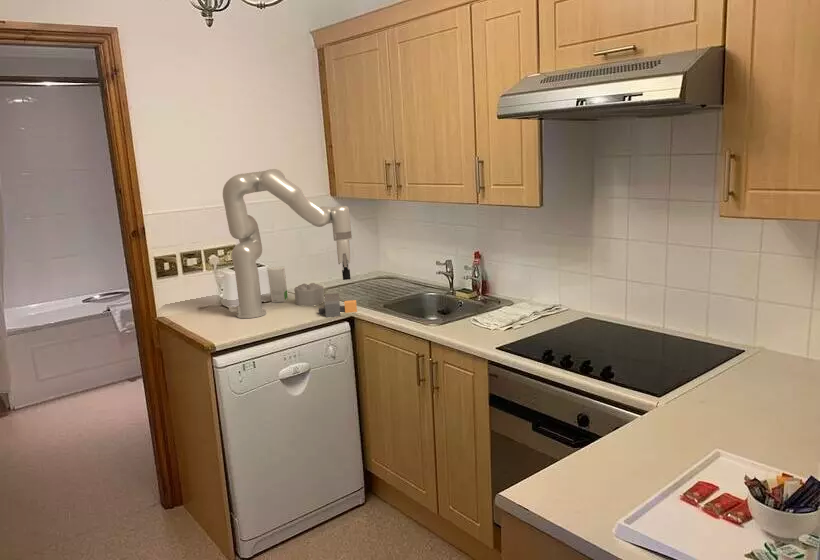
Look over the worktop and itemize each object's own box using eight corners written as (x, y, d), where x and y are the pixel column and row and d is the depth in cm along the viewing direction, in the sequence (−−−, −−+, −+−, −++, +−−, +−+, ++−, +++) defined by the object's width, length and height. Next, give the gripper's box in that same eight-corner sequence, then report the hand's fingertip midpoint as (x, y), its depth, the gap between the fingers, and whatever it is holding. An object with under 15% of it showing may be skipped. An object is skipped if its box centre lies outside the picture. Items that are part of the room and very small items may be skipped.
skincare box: (284, 302, 299) (281, 269, 296) (270, 303, 299) (267, 270, 296) (288, 298, 308) (285, 265, 304) (274, 298, 308) (271, 266, 305)
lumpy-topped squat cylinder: (314, 306, 288) (313, 287, 286) (290, 305, 293) (288, 286, 292) (327, 301, 297) (325, 282, 295) (303, 299, 303) (301, 281, 301)
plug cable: (318, 315, 272) (318, 305, 272) (319, 312, 276) (318, 303, 275) (357, 311, 274) (356, 302, 273) (356, 309, 278) (355, 300, 277)
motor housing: (326, 317, 268) (324, 301, 266) (326, 309, 281) (325, 294, 280) (340, 316, 268) (339, 300, 267) (340, 308, 282) (338, 293, 281)
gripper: (333, 234, 276) (337, 276, 280) (333, 239, 261) (337, 283, 265) (351, 233, 277) (355, 275, 280) (352, 237, 262) (356, 281, 266)
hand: (346, 279), depth 273 cm, fingers closed
